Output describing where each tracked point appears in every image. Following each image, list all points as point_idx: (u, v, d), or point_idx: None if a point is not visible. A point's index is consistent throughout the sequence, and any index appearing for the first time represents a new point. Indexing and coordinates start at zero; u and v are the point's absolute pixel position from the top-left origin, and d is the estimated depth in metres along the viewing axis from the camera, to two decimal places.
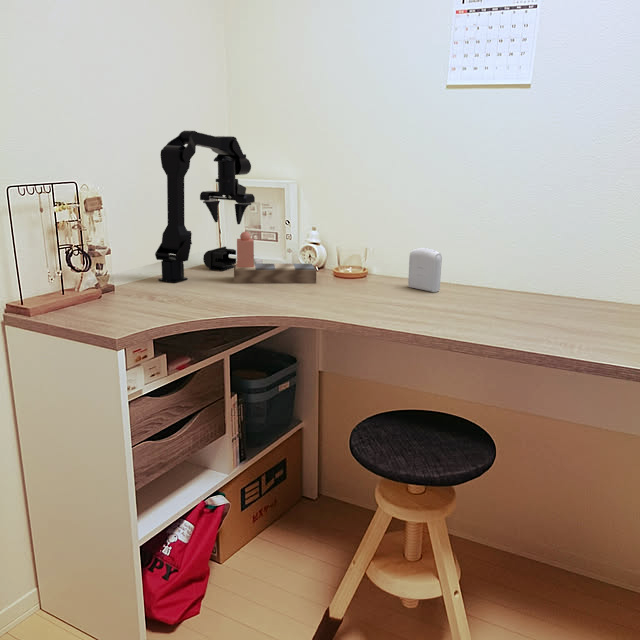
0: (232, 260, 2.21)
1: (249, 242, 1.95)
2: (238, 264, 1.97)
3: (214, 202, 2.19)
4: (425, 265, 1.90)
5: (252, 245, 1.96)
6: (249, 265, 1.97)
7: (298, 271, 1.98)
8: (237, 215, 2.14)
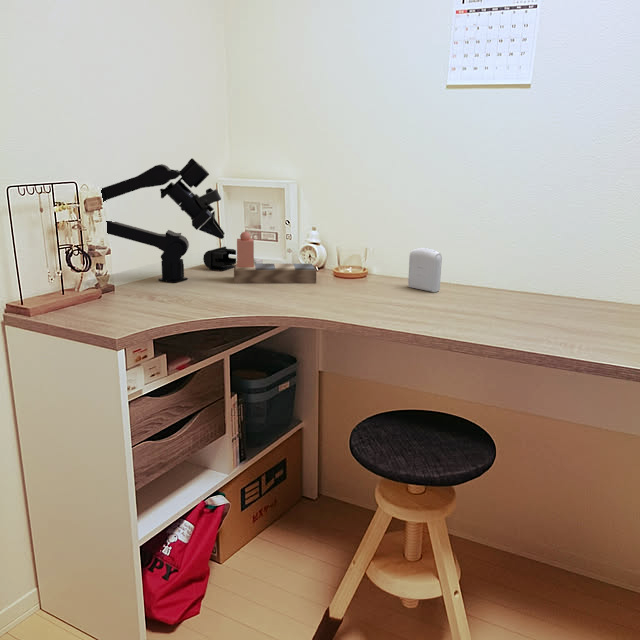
0: (232, 260, 2.21)
1: (249, 242, 1.95)
2: (238, 264, 1.97)
3: None
4: (425, 265, 1.90)
5: (252, 245, 1.96)
6: (249, 265, 1.97)
7: (298, 271, 1.98)
8: (211, 234, 1.92)
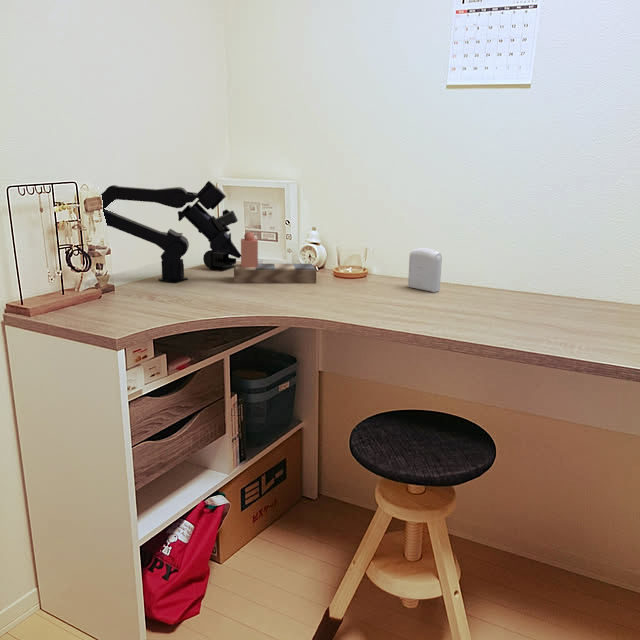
0: (232, 260, 2.21)
1: (253, 242, 1.96)
2: (242, 264, 1.97)
3: None
4: (425, 265, 1.90)
5: (256, 245, 1.96)
6: (253, 265, 1.98)
7: (298, 271, 1.98)
8: (229, 254, 1.97)
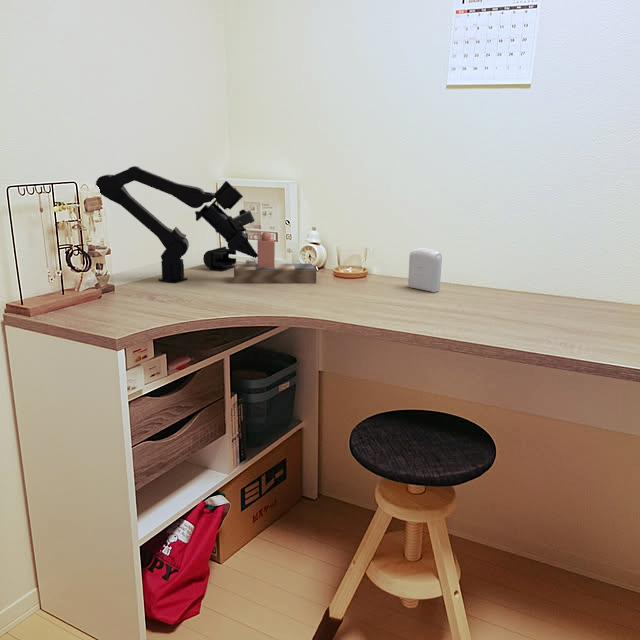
0: (232, 260, 2.21)
1: (270, 242, 1.96)
2: (259, 264, 1.98)
3: None
4: (425, 265, 1.90)
5: (273, 245, 1.97)
6: (270, 265, 1.98)
7: (298, 271, 1.98)
8: None
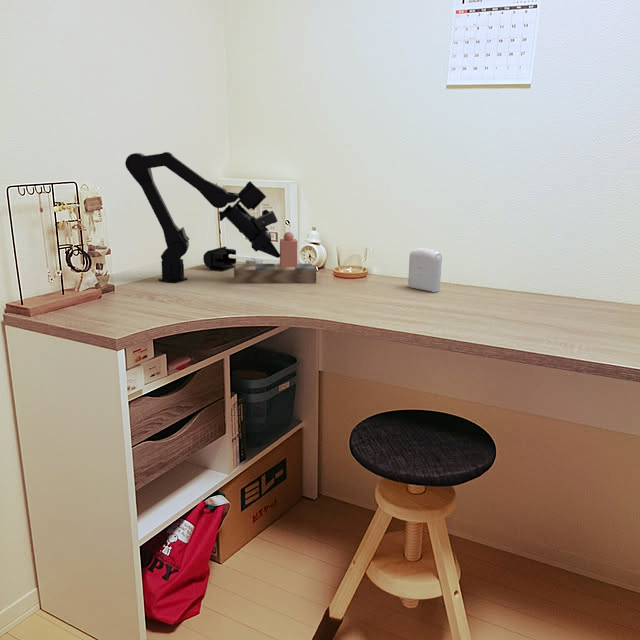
0: (232, 260, 2.21)
1: (293, 242, 1.97)
2: (282, 264, 1.98)
3: None
4: (425, 265, 1.90)
5: (296, 245, 1.97)
6: (292, 265, 1.99)
7: (298, 271, 1.98)
8: None
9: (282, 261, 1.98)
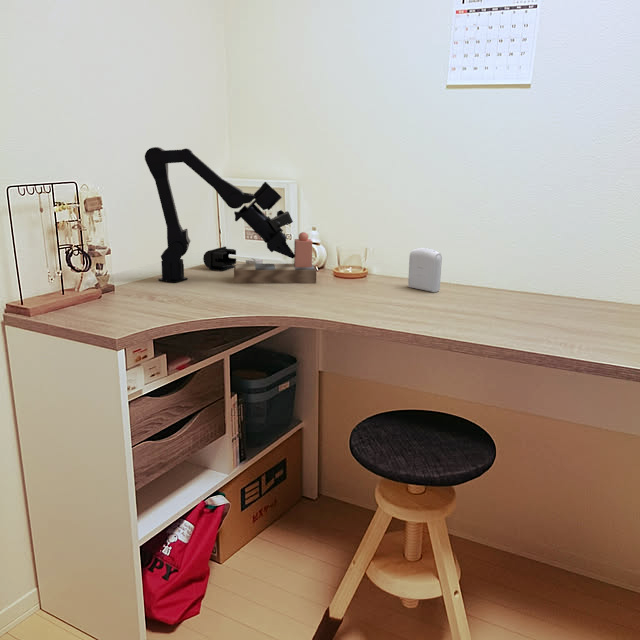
0: (232, 260, 2.21)
1: (308, 242, 1.98)
2: (296, 264, 1.99)
3: None
4: (425, 265, 1.90)
5: (311, 245, 1.98)
6: (307, 265, 2.00)
7: (298, 271, 1.98)
8: (283, 254, 1.99)
9: (297, 261, 1.99)
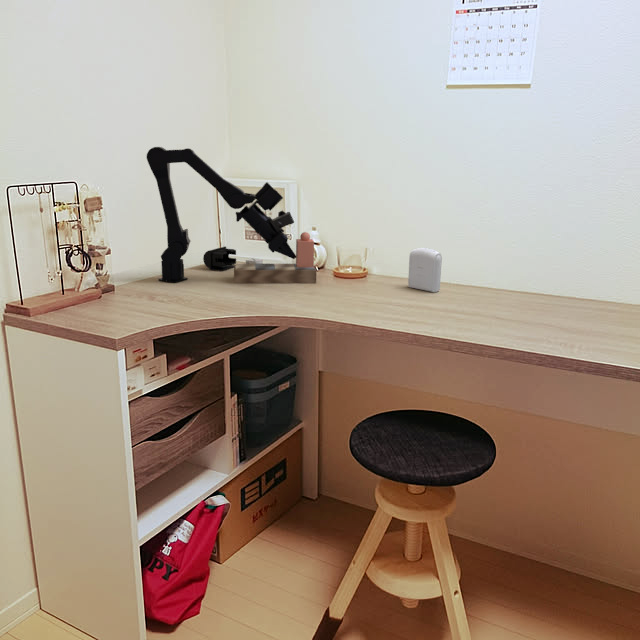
0: (232, 260, 2.21)
1: (310, 242, 1.98)
2: (298, 264, 1.99)
3: None
4: (425, 265, 1.90)
5: (312, 245, 1.98)
6: (309, 266, 2.00)
7: (298, 271, 1.98)
8: (284, 254, 1.99)
9: (299, 261, 1.99)
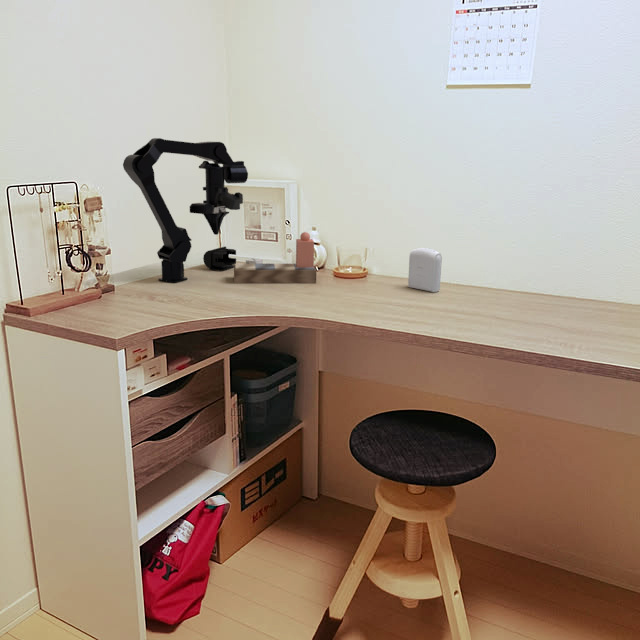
0: (232, 260, 2.21)
1: (310, 242, 1.98)
2: (298, 264, 1.99)
3: None
4: (425, 265, 1.90)
5: (312, 245, 1.98)
6: (309, 266, 2.00)
7: (298, 271, 1.98)
8: None
9: (299, 261, 1.99)
